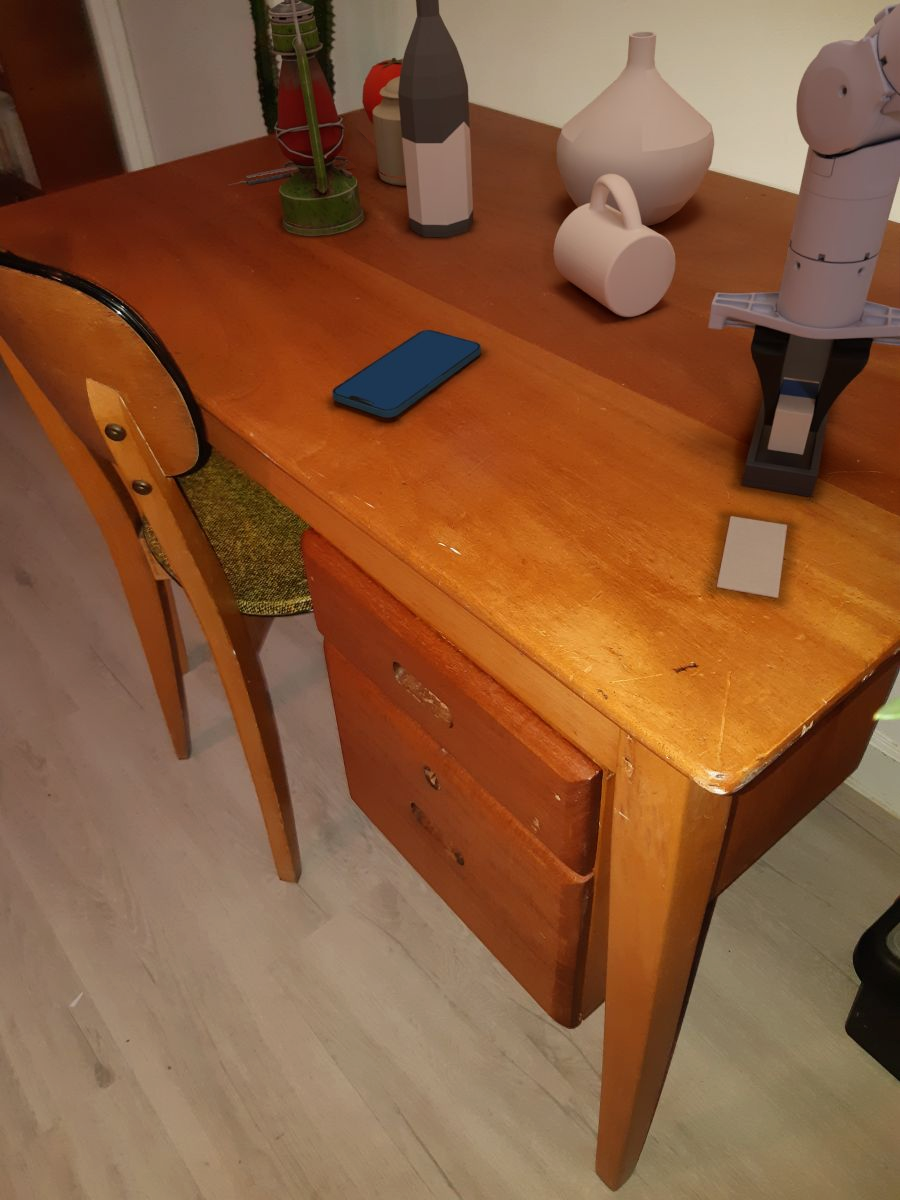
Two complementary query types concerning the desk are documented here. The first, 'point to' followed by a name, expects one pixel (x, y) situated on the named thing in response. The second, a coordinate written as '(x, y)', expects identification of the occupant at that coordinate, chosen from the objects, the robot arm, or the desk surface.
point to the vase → (638, 139)
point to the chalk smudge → (753, 557)
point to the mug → (614, 251)
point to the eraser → (793, 415)
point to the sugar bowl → (389, 135)
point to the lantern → (309, 131)
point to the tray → (802, 470)
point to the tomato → (378, 83)
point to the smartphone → (406, 373)
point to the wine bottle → (435, 128)
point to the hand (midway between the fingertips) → (792, 422)
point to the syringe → (281, 176)
